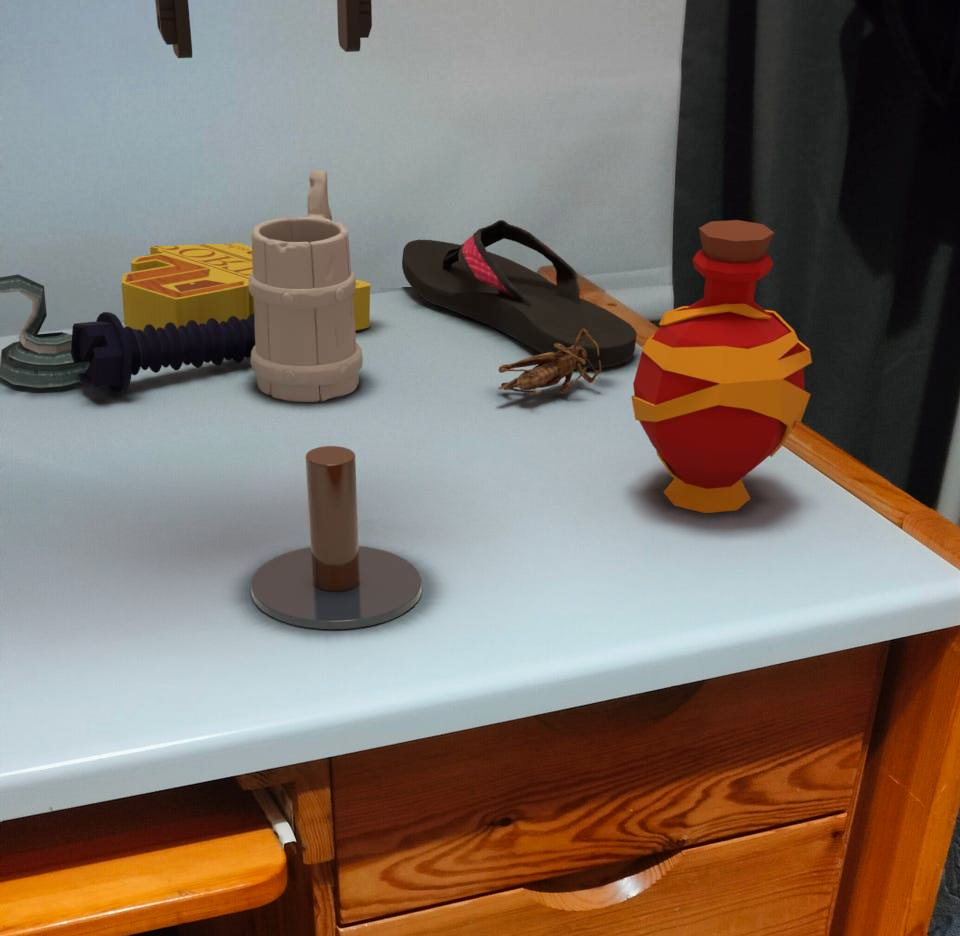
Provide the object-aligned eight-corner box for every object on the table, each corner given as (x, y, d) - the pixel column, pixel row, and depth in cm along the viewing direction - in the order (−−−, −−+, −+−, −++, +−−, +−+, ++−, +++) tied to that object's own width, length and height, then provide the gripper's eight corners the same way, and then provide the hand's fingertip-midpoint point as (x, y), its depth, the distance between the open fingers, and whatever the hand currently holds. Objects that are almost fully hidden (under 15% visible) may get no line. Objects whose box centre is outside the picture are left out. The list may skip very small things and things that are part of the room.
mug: (240, 400, 111) (224, 206, 103) (281, 342, 120) (269, 159, 112) (350, 408, 110) (343, 213, 102) (383, 349, 119) (379, 165, 111)
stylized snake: (-85, 376, 113) (-105, 275, 109) (183, 333, 121) (174, 238, 117) (-52, 410, 109) (-72, 306, 104) (224, 363, 117) (216, 265, 112)
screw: (106, 375, 107) (80, 300, 107) (85, 408, 112) (60, 337, 111) (338, 348, 116) (315, 279, 116) (311, 381, 120) (288, 314, 120)
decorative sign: (197, 268, 132) (43, 296, 123) (195, 229, 131) (39, 254, 122) (373, 326, 122) (220, 360, 113) (374, 284, 121) (218, 316, 112)
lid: (220, 609, 88) (206, 472, 83) (301, 541, 95) (292, 410, 90) (376, 643, 86) (371, 504, 81) (448, 571, 92) (449, 438, 87)
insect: (536, 426, 109) (485, 420, 113) (621, 384, 113) (569, 380, 117) (525, 356, 107) (473, 353, 110) (612, 316, 111) (560, 314, 114)
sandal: (479, 263, 134) (479, 187, 130) (672, 355, 119) (679, 272, 115) (380, 283, 130) (378, 205, 126) (567, 380, 115) (571, 295, 111)
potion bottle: (617, 524, 97) (637, 252, 87) (630, 457, 105) (650, 200, 95) (794, 537, 96) (836, 264, 86) (794, 468, 104) (832, 210, 94)
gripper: (380, -374, 76) (386, 33, 87) (69, -382, 73) (116, 41, 84) (420, -370, 71) (421, 63, 82) (87, -378, 68) (134, 73, 78)
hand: (266, 52), depth 83 cm, fingers open, 8 cm apart
